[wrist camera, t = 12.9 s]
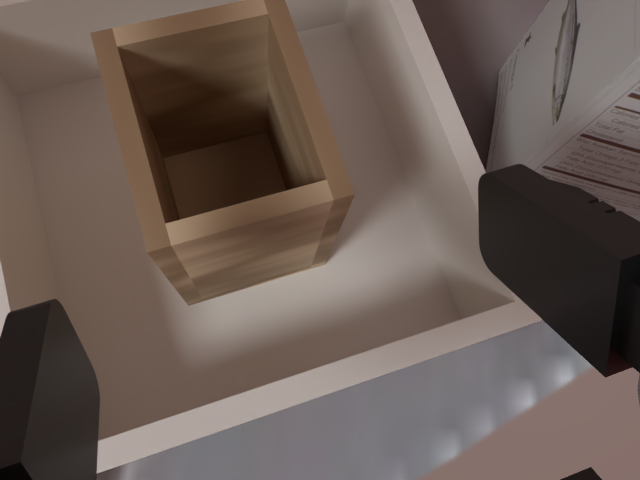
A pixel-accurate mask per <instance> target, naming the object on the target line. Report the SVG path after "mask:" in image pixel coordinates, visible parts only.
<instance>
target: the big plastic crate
mask: <svg viewBox="0 0 640 480" xmlns="http://www.w3.org/2000/svg"><path fill="white" fill-rule="evenodd" d="M239 1H243V0H0V336H1V333H2V329H3V326H4V323H5V319H6V316H7V314H8V313H9V312H11V311H14V310H18V309H21V308H25V307H28V306H31V305H35V304H38V303H42V302H45V301H48V300H52V299H57V300H58V301H59V302H60V303H61V304H62V306H63V307H64V309H65V311H66V313H67V315H68V317H69V319H70V321H71V323H72V325H73V327H74V329H75V331H76V333H77V335H78V337H79V339H80V341H81V343H82V345H83V347H84V350H85V352H86V354H87V356H88V358H89V360H90V362H91V364H92V366H93V368H94V371H95V374H96V377H97V381H98V386H99V392H100V411H99V432H98V454H97V473H100V472H103V471H105V470H108V469H111V468H114V467H117V466H120V465H123V464H126V463H129V462H132V461H135V460H137V459H140V458H143V457H146V456H149V455H152V454H155V453H158V452H161V451H164V450H167V449H169V448H172V447H175V446H178V445H181V444H184V443H187V442H190V441H193V440H196V439H198V438H201V437H204V436H207V435H210V434H213V433H216V432H219V431H222V430H225V429H228V428H230V427H233V426H236V425H239V424H242V423H245V422H248V421H251V420H254V419H257V418H260V417H262V416H265V415H268V414H271V413H274V412H277V411H280V410H283V409H286V408H289V407H291V406H294V405H297V404H300V403H303V402H306V401H309V400H312V399H315V398H318V397H321V396H323V395H326V394H329V393H332V392H335V391H338V390H341V389H344V388H347V387H350V386H353V385H355V384H358V383H361V382H364V381H367V380H370V379H373V378H376V377H379V376H382V375H384V374H387V373H390V372H393V371H396V370H399V369H402V368H405V367H408V366H411V365H414V364H416V363H419V362H422V361H425V360H428V359H431V358H434V357H437V356H440V355H443V354H445V353H448V352H451V351H454V350H457V349H460V348H463V347H466V346H469V345H472V344H475V343H477V342H480V341H483V340H486V339H489V338H492V337H495V336H498V335H501V334H504V333H507V332H509V331H512V330H515V329H518V328H521V327H524V326H527V325H530V324H533V323H536V322H538V321H541V320H542V319H541V318H540V317H539V316H538V315H537V314H536V313H535V312H534V311H533V310H532V309H530V308H529V307H528V306H527V305H526V304H525V303H524V302H523V301H522V300H521V299H520V298H519V297H517V296H516V295H515V294H514V293H513V292H512V291H511V290H510V289H509V288H508V287H507V286H506V285H504V284H503V283H502V282H501V281H500V280H499V279H498V278H497V277H496V276H495V275H494V274H492V272H491V271H490V270H489V269H488V268H487V266H486V264H485V262H484V260H483V258H482V255H481V252H480V247H479V218H478V183H479V179H480V177H481V176H482V175H483V174H485V173H486V172H485V170H484V167H483V165H482V162H481V160H480V158H479V155H478V153H477V151H476V148H475V146H474V144H473V141H472V139H471V137H470V134H469V132H468V130H467V127H466V125H465V123H464V120H463V118H462V116H461V113H460V111H459V109H458V106H457V104H456V102H455V99H454V97H453V95H452V92H451V90H450V88H449V85H448V83H447V81H446V78H445V76H444V74H443V71H442V69H441V67H440V64H439V62H438V60H437V57H436V55H435V53H434V50H433V48H432V46H431V43H430V41H429V38H428V36H427V34H426V31H425V29H424V27H423V24H422V22H421V20H420V17H419V15H418V13H417V10H416V8H415V6H414V3H413V1H412V0H285V1H286V4H287V7H288V10H289V13H290V15H291V18H292V21H293V24H294V26H295V29H296V32H297V35H298V37H299V40H300V43H301V46H302V48H303V51H304V54H305V57H306V59H307V62H308V65H309V68H310V71H311V73H312V76H313V79H314V82H315V84H316V87H317V90H318V93H319V95H320V98H321V101H322V104H323V106H324V109H325V112H326V115H327V117H328V120H329V123H330V126H331V128H332V131H333V134H334V137H335V140H336V142H337V145H338V148H339V151H340V153H341V156H342V159H343V162H344V164H345V167H346V170H347V173H348V175H349V178H350V181H351V184H352V186H353V189H354V192H355V196H354V198H353V200H352V203H351V205H350V207H349V210H348V212H347V214H346V216H345V219H344V221H343V223H342V226H341V228H340V230H339V233H338V235H337V237H336V240H335V242H334V244H333V246H332V249H331V251H330V253H329V256H328V258H327V260H326V263H325V265H323V266H319V267H316V268H313V269H309V270H306V271H303V272H299V273H296V274H293V275H289V276H286V277H283V278H279V279H276V280H273V281H269V282H266V283H263V284H259V285H256V286H253V287H249V288H246V289H243V290H239V291H236V292H233V293H229V294H226V295H223V296H219V297H216V298H213V299H210V300H206V301H203V302H200V303H196V304H193V305H190V306H188V305H187V303H186V302H185V301H184V299H183V298H182V297H181V296H180V294H179V293H178V292H177V290H176V289H175V288H174V287H173V285H172V284H171V283H170V281H169V280H168V279H167V277H166V276H165V275H164V274H163V272H162V271H161V270H160V268H159V267H158V266H157V264H156V263H155V262H154V261H153V259H152V258H151V257H150V255H149V254H148V253H147V250H146V246H145V242H144V238H143V234H142V230H141V227H140V223H139V219H138V215H137V211H136V207H135V204H134V200H133V196H132V192H131V188H130V184H129V181H128V177H127V173H126V169H125V165H124V161H123V157H122V154H121V150H120V146H119V142H118V138H117V134H116V131H115V127H114V123H113V119H112V115H111V111H110V107H109V104H108V100H107V96H106V92H105V88H104V84H103V81H102V77H101V73H100V69H99V65H98V61H97V58H96V54H95V50H94V46H93V42H92V38H91V34H90V33H91V32H96V31H101V30H106V29H110V28H115V27H120V26H125V25H129V24H134V23H139V22H144V21H148V20H153V19H158V18H163V17H167V16H172V15H177V14H182V13H186V12H191V11H196V10H201V9H205V8H210V7H215V6H220V5H224V4H229V3H234V2H239Z"/></svg>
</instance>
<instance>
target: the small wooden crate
mask: <svg viewBox="0 0 640 480" xmlns="http://www.w3.org/2000/svg"><path fill="white" fill-rule="evenodd" d="M90 34H91V38H92V42H93V46H94V50H95V54H96V58H97V61H98V65H99V69H100V73H101V77H102V81H103V84H104V88H105V92H106V96H107V100H108V104H109V107H110V111H111V115H112V119H113V123H114V127H115V131H116V134H117V138H118V142H119V146H120V150H121V154H122V157H123V161H124V165H125V169H126V173H127V177H128V181H129V184H130V188H131V192H132V196H133V200H134V204H135V207H136V211H137V215H138V219H139V223H140V227H141V230H142V234H143V238H144V242H145V246H146V250H147V253H148V254H149V255H150V257H151V258H152V259H153V261H154V262H155V263H156V264H157V266H158V267H159V268H160V270H161V271H162V272H163V274H164V275H165V276H166V277H167V279H168V280H169V281H170V283H171V284H172V285H173V287H174V288H175V289H176V290H177V292H178V293H179V294H180V296H181V297H182V298H183V299H184V301H185V302H186V303H187V305H188V306H190V305H193V304H196V303H200V302H203V301H206V300H210V299H213V298H216V297H219V296H223V295H226V294H229V293H233V292H236V291H239V290H243V289H246V288H249V287H253V286H256V285H259V284H263V283H266V282H269V281H273V280H276V279H279V278H283V277H286V276H289V275H293V274H296V273H299V272H303V271H306V270H309V269H313V268H316V267H319V266H323V265H325V263H326V260H327V258H328V256H329V253H330V251H331V249H332V246H333V244H334V242H335V240H336V237H337V235H338V233H339V230H340V228H341V226H342V223H343V221H344V219H345V216H346V214H347V212H348V210H349V207H350V205H351V203H352V200H353V198H354V196H355V192H354V189H353V186H352V184H351V181H350V178H349V175H348V173H347V170H346V167H345V164H344V162H343V159H342V156H341V153H340V151H339V148H338V145H337V142H336V140H335V137H334V134H333V131H332V128H331V126H330V123H329V120H328V117H327V115H326V112H325V109H324V106H323V104H322V101H321V98H320V95H319V93H318V90H317V87H316V84H315V82H314V79H313V76H312V73H311V71H310V68H309V65H308V62H307V59H306V57H305V54H304V51H303V48H302V46H301V43H300V40H299V37H298V35H297V32H296V29H295V26H294V24H293V21H292V18H291V15H290V13H289V10H288V7H287V4H286V1H285V0H243V1H239V2H234V3H229V4H224V5H220V6H215V7H210V8H205V9H201V10H196V11H191V12H186V13H182V14H177V15H172V16H167V17H163V18H158V19H153V20H148V21H144V22H139V23H134V24H129V25H125V26H120V27H115V28H110V29H106V30H101V31H96V32H91V33H90Z"/></svg>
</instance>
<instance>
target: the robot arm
mask: <svg viewBox="0 0 640 480" xmlns="http://www.w3.org/2000/svg"><path fill="white" fill-rule="evenodd" d="M478 218H479V247H480V252H481V255H482V258H483V260H484V262H485V264H486V266H487V268H488V269H489V270H490V271H491V272H492V274H494V275H495V276H496V277H497V278H498V279H499V280H500V281H501V282H502V283H503V284H504V285H506V286H507V287H508V288H509V289H510V290H511V291H512V292H513V293H514V294H515V295H516V296H517V297H519V298H520V299H521V300H522V301H523V302H524V303H525V304H526V305H527V306H528V307H529V308H530V309H532V310H533V311H534V312H535V313H536V314H537V315H538V316H539V317H540V318H541V319H542V320H544V321H545V322H546V323H547V324H548V325H549V326H550V327H551V328H552V329H553V330H554V331H555V332H557V333H558V334H559V335H560V336H561V337H562V338H563V339H564V340H565V341H566V342H567V343H569V344H570V345H571V346H572V347H573V348H574V349H575V350H576V351H577V352H578V353H579V354H580V355H582V356H583V357H584V358H585V359H586V360H587V361H588V362H589V363H590V364H591V365H592V366H594V367H595V368H596V369H597V370H598V371H599V372H600V373H601V374H602V375H603V376H604V377H608V376H611V375H613V374H616V373H618V372H621V371H624V370H626V369H629V368H632V367H633V368H635V369H636V370H637V371H638V372H639V373H640V221H638V220H636V219H634V218H633V217H631V216H629V215H627V214H625V213H624V212H622V211H616V208H615V207H613V206H611V205H609V204H608V203H606V202H604V201H600V202H599V199H598V198H597V197H595V196H593V195H591V194H590V193H588V192H586V191H584V190H582V189H581V188H579V187H576V186H572V185H569V184H565V183H561V182H557V181H554V180H549V179H547V178H546V177H544V176H542V175H540V174H539V173H537V172H535V171H534V170H532V169H530V168H528V167H527V166H525V165H523V164H515V165H512V166H509V167H505V168H502V169H498V170H495V171H492V172H488V173H485V174H483V175H482V176H481V177H480V179H479V183H478ZM638 397H639V404H640V375H639V382H638ZM99 411H100V392H99V386H98V381H97V377H96V374H95V371H94V368H93V366H92V364H91V362H90V360H89V358H88V356H87V354H86V352H85V350H84V347H83V345H82V343H81V341H80V339H79V337H78V335H77V333H76V331H75V329H74V327H73V325H72V323H71V321H70V319H69V317H68V315H67V313H66V311H65V309H64V307H63V306H62V304H61V303H60V302H59V301H58V300H57V299H52V300H48V301H45V302H42V303H38V304H35V305H31V306H28V307H25V308H21V309H18V310H14V311H11V312H9V313H8V314H7V316H6V319H5V323H4V326H3V329H2V333H1V336H0V480H96V475H97V454H98V432H99ZM561 480H602V479H601V478H600V477H599V476H598V475H597V474H596V472H595V471H594V470H593V469H592V468H591V467H590V468H588V469H585V470H583V471H580V472H578V473H576V474H573V475H570V476H568V477H566V478H563V479H561Z"/></svg>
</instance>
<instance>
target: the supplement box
mask: <svg viewBox="0 0 640 480" xmlns="http://www.w3.org/2000/svg"><path fill="white" fill-rule="evenodd" d="M515 164H523V165H525V166H527V167H528V168H530V169H532V170H534V171H535V172H537V173H539V174H540V175H542V176H544V177H546V178H547V179H549V180H554V181H557V182H561V183H565V184H569V185H572V186H576V187H579V188H581V189H582V190H584V191H586V192H588V193H590V194H591V195H593V196H595V197H597V198H598V199H599V202H600V201H604V202H606V203H608V204H609V205H611V206H613V207H615V208H616V211H622V212H624V213H625V214H627V215H629V216H631V217H633V218H634V219H636V220H638V221H640V0H549V2H548V3H547V5H546V6H545V7H544V9H543V10H542V12H541V13H540V14H539V16H538V17H537V19H536V20H535V21H534V23H533V24H532V26H531V27H530V28H529V30H528V31H527V32H526V34H525V36H524V37H523V38H522V39H521V41H520V42H519V44H518V45H517V46H516V48H515V49H514V51H513V52H512V54H511V55H510V56H509V58H508V59H507V61H506V62H505V64H504V65H503V66H502V68H501V69H500V71H499V81H498V91H497V100H496V108H495V116H494V123H493V129H492V136H491V142H490V148H489V153H488V160H487V165H486V171H485V172H486V173H488V172H492V171H495V170H498V169H502V168H505V167H509V166H512V165H515Z"/></svg>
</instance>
